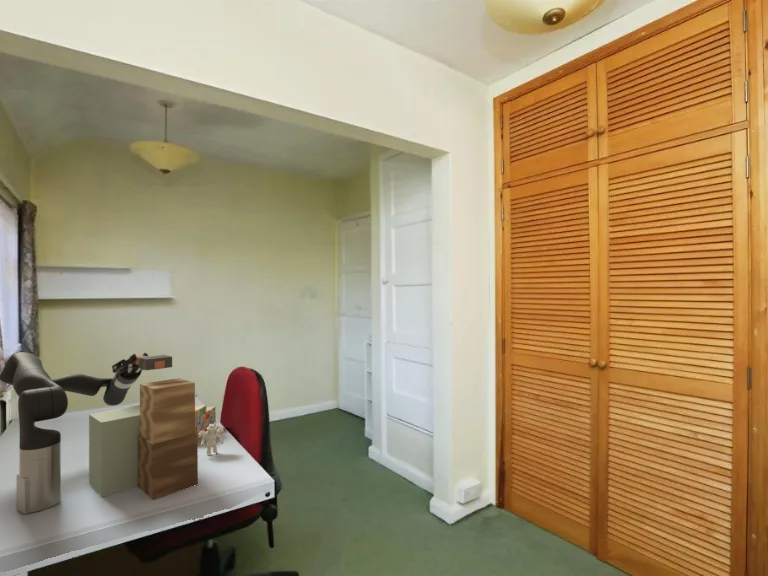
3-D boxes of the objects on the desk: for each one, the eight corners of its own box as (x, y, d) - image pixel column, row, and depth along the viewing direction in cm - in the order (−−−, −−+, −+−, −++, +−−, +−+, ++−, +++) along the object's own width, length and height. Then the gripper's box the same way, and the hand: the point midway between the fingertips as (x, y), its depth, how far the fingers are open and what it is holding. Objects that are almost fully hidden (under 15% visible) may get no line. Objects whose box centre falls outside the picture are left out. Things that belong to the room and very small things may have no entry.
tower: (137, 486, 131) (137, 384, 132) (180, 473, 141) (180, 377, 142) (153, 500, 123) (152, 389, 123) (197, 484, 132) (197, 382, 133)
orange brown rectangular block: (123, 363, 149) (123, 353, 149) (148, 360, 155) (148, 351, 155) (146, 370, 134) (146, 359, 134) (172, 367, 140) (172, 356, 140)
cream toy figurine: (222, 449, 163) (222, 418, 163) (225, 452, 160) (225, 420, 160) (197, 455, 157) (197, 423, 158) (200, 458, 154) (200, 425, 154)
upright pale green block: (89, 483, 134) (89, 414, 135) (168, 461, 152) (167, 399, 153) (101, 496, 125) (101, 422, 126) (184, 471, 143) (183, 406, 143)
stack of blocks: (202, 426, 193) (202, 399, 193) (216, 426, 193) (215, 399, 193) (178, 443, 172) (178, 412, 172) (193, 442, 172) (193, 412, 172)
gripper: (103, 368, 155) (116, 348, 146) (145, 363, 166) (159, 344, 156) (106, 387, 153) (119, 368, 143) (148, 381, 163) (163, 363, 153)
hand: (140, 355), depth 149 cm, fingers closed on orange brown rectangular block, 3 cm apart
